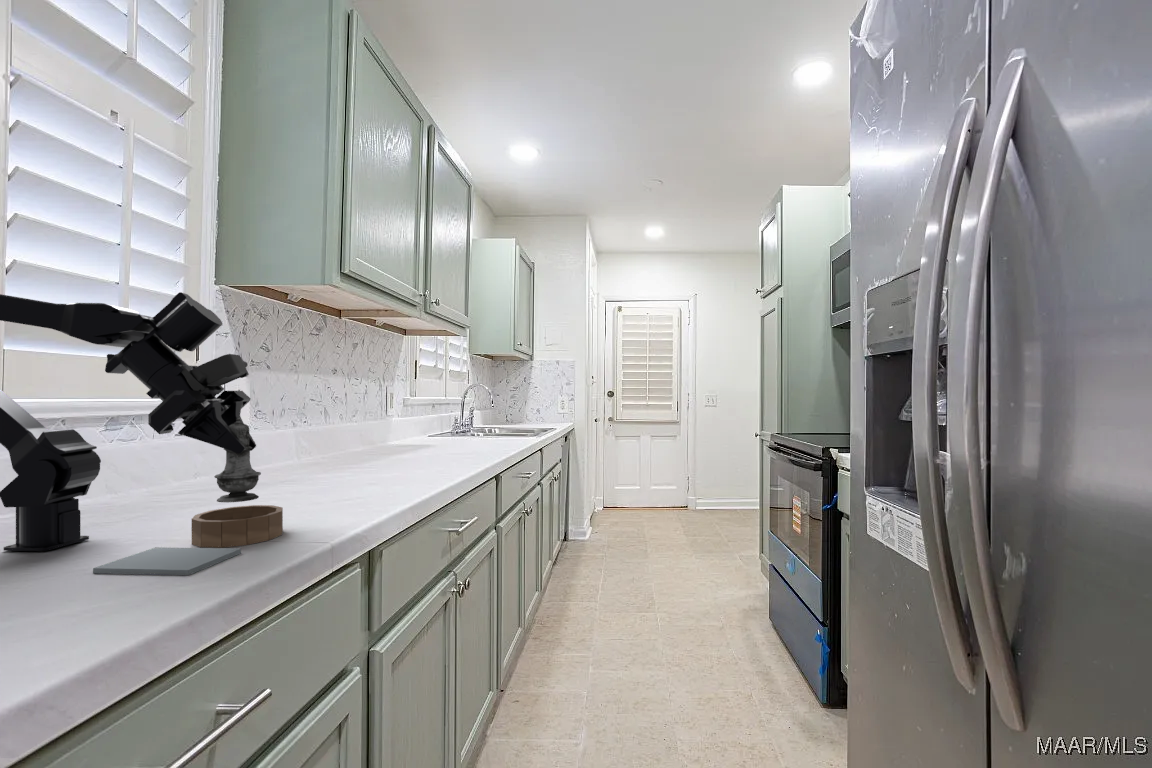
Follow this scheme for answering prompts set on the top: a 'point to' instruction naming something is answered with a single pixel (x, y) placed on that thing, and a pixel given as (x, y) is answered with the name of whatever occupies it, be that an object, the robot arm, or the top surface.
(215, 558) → the mat
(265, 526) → the ring
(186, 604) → the top surface
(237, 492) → the salt shaker
